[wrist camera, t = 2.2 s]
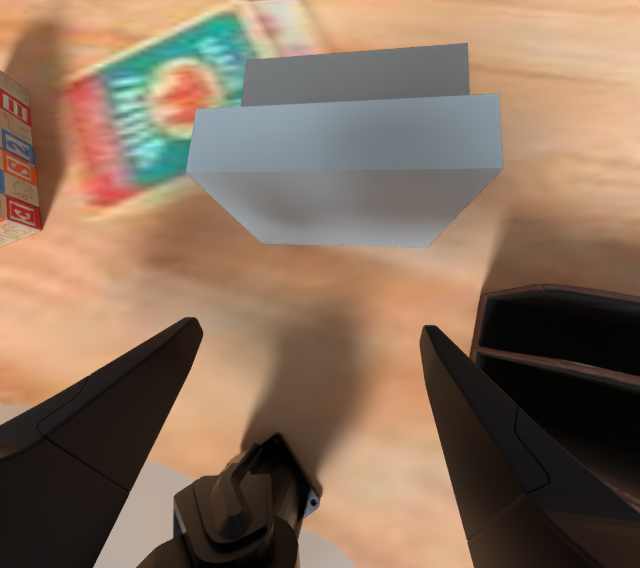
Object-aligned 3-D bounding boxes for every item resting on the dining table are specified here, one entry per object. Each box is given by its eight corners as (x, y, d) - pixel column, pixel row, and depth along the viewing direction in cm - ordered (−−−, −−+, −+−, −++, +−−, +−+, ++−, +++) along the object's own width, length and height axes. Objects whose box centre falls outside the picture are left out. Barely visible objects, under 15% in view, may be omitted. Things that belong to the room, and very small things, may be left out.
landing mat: (470, 187, 24) (472, 185, 23) (231, 189, 27) (229, 187, 26) (465, 47, 26) (467, 42, 26) (248, 63, 29) (246, 59, 29)
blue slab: (426, 247, 23) (503, 168, 12) (262, 243, 25) (185, 173, 14) (426, 207, 24) (499, 93, 12) (266, 207, 26) (196, 109, 14)
